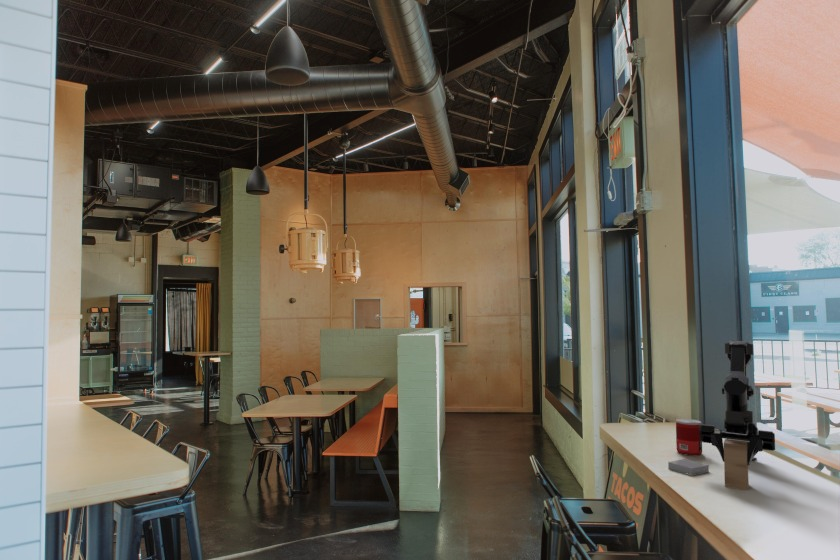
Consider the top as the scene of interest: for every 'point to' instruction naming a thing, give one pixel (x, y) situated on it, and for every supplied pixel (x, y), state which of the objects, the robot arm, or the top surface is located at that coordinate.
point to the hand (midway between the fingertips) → (735, 462)
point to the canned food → (688, 437)
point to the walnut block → (736, 464)
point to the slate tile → (688, 466)
